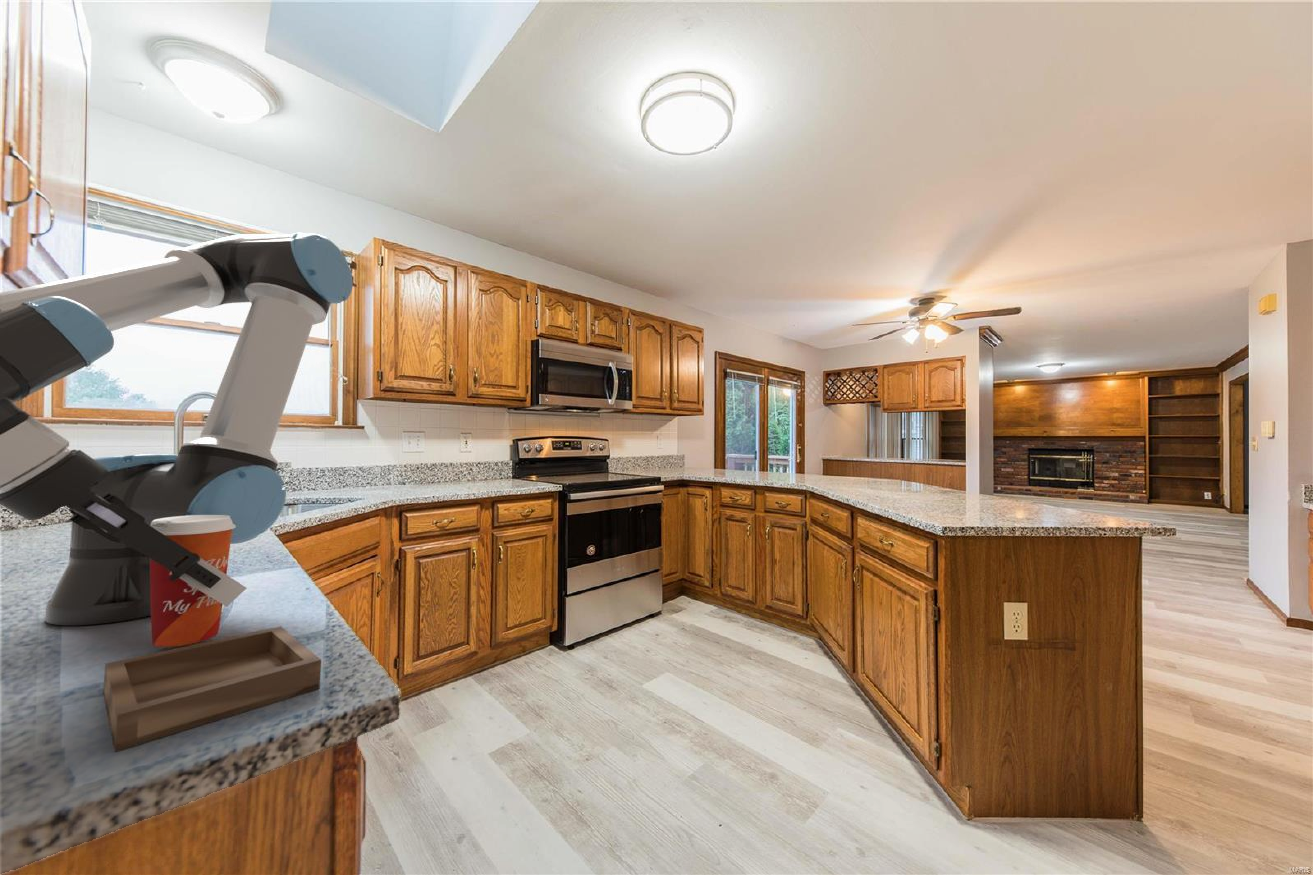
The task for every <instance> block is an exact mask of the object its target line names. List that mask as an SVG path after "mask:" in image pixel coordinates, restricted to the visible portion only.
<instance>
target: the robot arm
mask: <svg viewBox="0 0 1313 875" xmlns="http://www.w3.org/2000/svg"><path fill="white" fill-rule="evenodd" d="M353 284H354V283H353V276H352V272H351V268H350V266H349V262H348V260H347V259H346V256H345V255H344V254H343V252H342V250H340V248H339V247H338V246H337V245H336V244H335V243H334V242H333V241H332V240H331V239H329V238H327V237H326V236H324V235H321V234H318V233H317V234H316V233H304V232H300V231H299V232H295V233H291V234H290V233H289V234H284V233H283V234H282V233H281V234H280V233H278V234H277V233H276V234H273V233H272V234H269V233H268V234H263V233H261V234H260V233H255V234H254V233H253V234H251V233H243V234H234V235H230V236H226V237H222V238H217V239H214V240H210V241H206V242H201V243H197V244H194V245H190V246H186V247H182V248H177V249H173V250H169V251H168V252H167V253H166V254H165V255H164V258H163V259H159V260H153V261H148V262H143V263H140V264H134V265H130V266H125V267H119V268H115V269H111V270H109V269H108V270H106V271H100V272H95V273H90V274H86V275H81V276H76V277H71V278H67V279H61V280H56V281H52V282H47V283H41V284H37V285H32V286H28V287H21V288H17V289H14V290H13V289H12V290H8V291H3V292H0V505H1V507H2V506H3V507H5V509H8V510H9V511H12V512H13V513H14V514H16V515H19V516H20V517H21V518H24V519H25V520H27V521H36V520H40V519H44V518H45V517H47V516H49V515H51V514H53V513H55V512H56V511H58V510H59V509H61V508H63V507H66V508H68V511H69V512H70V514H71V518H69V521H71V529H70V540H69V541H70V543H69V544H70V545H69V556H68V557H69V560H68V563H67V567H66V568H65V570H64V572H63V573H62V576H60V579H59V581H58V583H57V585H56V588H55V589H54V591H53V593H52V596H51V598H50V599H49V600H48V601H47V603H46V606H45V618H44V621H45V622H46V623H47V624H50V625H56V626H86V625H87V626H88V625H99V624H109V623H117V622H122V621H123V622H124V621H128V620H130V621H131V620H135V619H140V618H145V617H151V596H150V559H152V560H154V561H155V562H157V563H159V564H160V565H162V566H163V567H165V568H167V569H168V570H170V571H171V573H172V574H173V575H172V576H171V577H170V578H168V579H169V580H171V581H172V582H175V581H176V580H177V579H178V578H180V579H182V580H183V581H185V582H187V583H188V584H190V585H191V586H193V587H195V588H196V589H198V590H200V591H201V592H203V593H205V594H206V595H208V596H210V597H211V598H213V599H215V600H216V601H218V602H219V603H221V604H223V605H222V606H225V607H226V608H227V607H228V606H229V605H230V604H232V603H233V602H234V601H235V600H236V599H238V597H239V596H240V595H242V593H244V592H245V591H246V589H247V587H246V586H244V585H243V584H241V583H240V582H238V581H237V580H236V579H234V578H232V577H230V576H229V575H228V574H224V573H223V572H221V571H220V570H218V569H217V568H215V567H214V566H212V565H211V564H209V563H208V562H206V561H204V560H203V559H201V558H200V557H199V555H197V554H196V553H192V552H190V551H189V550H187V549H185V548H184V547H182V546H181V545H179V544H178V543H176V542H174V541H173V540H171V539H170V538H168V537H167V536H165V535H164V534H162V533H160V532H159V531H157V530H156V529H154V528H153V527H151V526H150V525H151V522H152V521H153V520H155V519H160V518H166V517H176V516H189V515H228V516H230V518H231V520H232V523H233V524H234V525H235V526H236V527H235V528H233V529H232V535H231V543H230V545H235V544H242V543H243V544H244V543H246V542H249V541H251V540H253V539H256V538H257V537H258V536H260V535H262V534H264V533H266V532H267V531H268V530H269V529H270V528H271V527H272V526H273V525H274V524H275V522H276V521H277V520H278V519H279V516H281V514H282V511H283V509H284V506H285V503H286V499H287V498H286V497H287V489H286V488H284V484H285V482H284V478H282V476H281V475H280V474H279V473H277V472H276V471H277V468H278V464H279V463H278V460H277V459H276V458H275V457H274V456H273V454H272V452H271V449H272V446H273V443H274V440H275V437H276V434H277V432H278V429H279V425H280V422H281V420H282V417H283V413H284V410H285V408H286V404H287V402H288V398H289V395H290V394H291V390H292V387H293V384H294V381H295V378H296V375H297V372H298V369H299V366H300V363H301V361H302V357H303V354H304V352H305V349H306V346H307V342H308V340H309V337H310V334H311V331H312V328H313V326H314V325H317V324H321V323H324V322H325V320H326V319H327V316H328V313H329V310H330V307H331V305H332V304H335V305H336V304H341V303H342V302H345V301H347V300H348V299H349V298H350V296H351V294H352V291H353V286H354V285H353ZM239 303H251V306H250V308H249V310H248V313H247V316H246V318H245V321H244V323H243V325H242V328H241V330H240V333H239V335H238V339H237V341H236V344H235V346H234V348H233V351H232V354H231V357H230V359H229V362H228V363H227V367H226V369H225V372H224V374H223V376H222V379H221V381H220V385H219V386H218V390H217V391H216V392H217V393H216V395H215V398H214V400H213V402H212V404H211V407H210V410H209V412H208V415H207V417H206V420H205V423H204V426H203V428H202V429H201V430H202V431H201V433H200V436H199V437H197V438H194V439H192V440H190V441H187V442H185V443H183V444H181V446H180V449H179V452H178V454H177V453H176V454H174V453H170V454H169V453H152V454H151V453H150V454H146V453H145V454H132V455H130V454H129V455H113V456H101V457H100V456H99V457H95V458H93V457H91V456H90V455H88V454H86V453H85V452H84V451H83V450H81V449H78V450H77V449H69V446H70V441H69V440H67V439H66V438H65V437H63V436H62V435H60V434H59V433H57V432H55V430H53V429H52V428H50V427H49V426H47V425H45V424H44V423H42V422H41V421H39V420H38V419H36V418H35V417H34V416H32V415H30V414H29V413H27V412H26V411H25V410H24V411H23V410H22V409H21V408H20V407H18V406H17V405H16V404H14V403H16V402H18V401H21V400H22V399H25V398H27V397H28V396H30V395H32V394H34V393H36V392H37V391H40V390H42V389H44V388H46V387H47V386H50V385H51V384H54V383H56V382H57V381H60V380H61V379H64V378H65V377H68V376H70V375H71V374H73V373H75V372H77V371H79V370H82V369H83V368H88V367H90V366H91V365H92V363H94V362H96V361H97V360H99V359H101V358H102V357H103V356H105V355H108V353H110V352H111V351H112V349H113V348H114V345H115V339H114V338H115V337H114V335H113V333H112V332H113V331H117V330H119V329H123V328H127V327H129V326H132V325H135V324H136V325H137V324H139V323H144V322H146V321H150V320H153V319H156V318H160V317H163V316H166V315H170V314H172V313H176V312H179V311H182V310H186V309H189V308H192V307H193V308H194V307H195V306H196V307H199V308H205V309H211V308H216V307H219V306H222V305H227V304H239ZM184 556H185V557H184ZM183 557H184V558H183ZM182 558H183V559H182ZM180 559H182V560H180ZM179 560H180V561H179ZM178 561H179V562H178ZM177 562H178V563H177ZM176 563H177V564H176ZM175 564H176V565H175Z"/></svg>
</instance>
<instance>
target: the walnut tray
mask: <svg viewBox="0 0 1313 875" xmlns="http://www.w3.org/2000/svg"><path fill="white" fill-rule="evenodd" d="M321 668H322V659H321V658H320V657H319V656H317V655H316V654H315V653H314V652H312V651H311V650H310V649H309V648H308V647H306V646H305V645H304V644H303V643H301V642H300V641H299V640H298V639H297V638H296V637H295V636H293V635H292V634H291V633H289V632H288V631H287V630H286V629H285V628H284V627H282V626H276V627H271V628H267V629H261V630H257V631H254V632H247V633H243V634H238V635H234V636H228V637H224V638H219V639H215V640H211V641H206V642H205V641H204V642H201V643H200V642H199V643H194V644H189V645H185V646H180V647H177V648H173V649H168V650H162V651H158V652H154V653H153V652H152V653H148V654H144V655H140V656H139V655H138V656H135V657H130V658H125V659H121V660H115V661H111V662H107V663H105V664H104V677H103V679H104V680H103V694H102V695H103V698H104V704H105V709H106V714H107V719H108V723H109V729H110V733H111V738H112V743H113V747H114V752H120V751H123V750H127V749H129V748H133V747H136V746H139V745H141V744H145V743H149V742H153V741H155V740H159V739H161V738H164V737H168V736H171V735H175V734H178V733H181V732H184V731H187V730H190V729H194V728H197V727H200V726H204V725H207V724H210V723H213V722H216V721H219V720H223V719H226V718H230V717H233V716H235V715H238V714H243V713H245V712H248V711H252V710H256V709H258V708H262V707H264V706H268V705H271V704H274V703H278V702H280V701H281V702H282V701H284V700H287V699H290V698H294V697H298V696H300V695H304V694H306V693H309V692H313V691H316V690H319V689H321V687H320V686H321V672H322V671H321Z"/></svg>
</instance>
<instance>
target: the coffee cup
mask: <svg viewBox="0 0 1313 875" xmlns="http://www.w3.org/2000/svg"><path fill="white" fill-rule="evenodd" d="M150 526H151V527H153V528H154V529H156V530H157V531H159V532H160V533H162V534H164V535H165V536H167V537H168V538H170V539H171V540H173V541H174V542H176V543H178V544H179V545H181V546H182V547H184V548H185V549H187V550H189V551H190V552H192V553H196V554H197V555H199V557H200V558H201V559H203V560H204V561H206V562H208V563H209V564H211V565H212V566H214V567H215V568H217V569H218V570H220V571H221V572H223V573H224V574H226V575H228V574H227V572H228V565H229V557H230V549H231V544H230V543H231V535H232V529H233V528H235V527H236V526H235V525H234V524H233V523H232V520H231V518H230V516H228V515H189V516H176V517H166V518H160V519H155V520H153V521H152V522H151V525H150ZM184 557H185V556H184ZM184 557H183V558H184ZM183 558H182V559H183ZM182 559H180V560H182ZM180 560H179V561H180ZM179 561H178V562H179ZM178 562H177V563H178ZM177 563H176V564H177ZM176 564H175V565H176ZM172 575H173V574H172V573H171V571H170V570H168V569H167V568H165V567H163V566H162V565H160V564H159V563H157V562H155V561H154V560H152V559H150V596H151V616H150V625H151V643H152V645H153V647H156V648H175V647H177V648H178V647H185V646H190V645H195V644H199V643H200V642H201V643H202V642H203V641H204V642H205V641H206V640H210V639H212V638H214V637H216V636H217V635H218V633H219V631H220V626H221V618H222V611H223V606H224V605H223V604H221V603H219V602H218V601H216V600H215V599H213V598H211V597H210V596H208V595H206V594H205V593H203V592H201V591H200V590H198V589H196V588H195V587H193V586H191V585H190V584H188V583H187V582H185V581H183V580H182V579H180V578H178V579H177V580H176V581H175V582H172V581H171V580H169V579H168V578H170V577H171V576H172Z"/></svg>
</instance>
